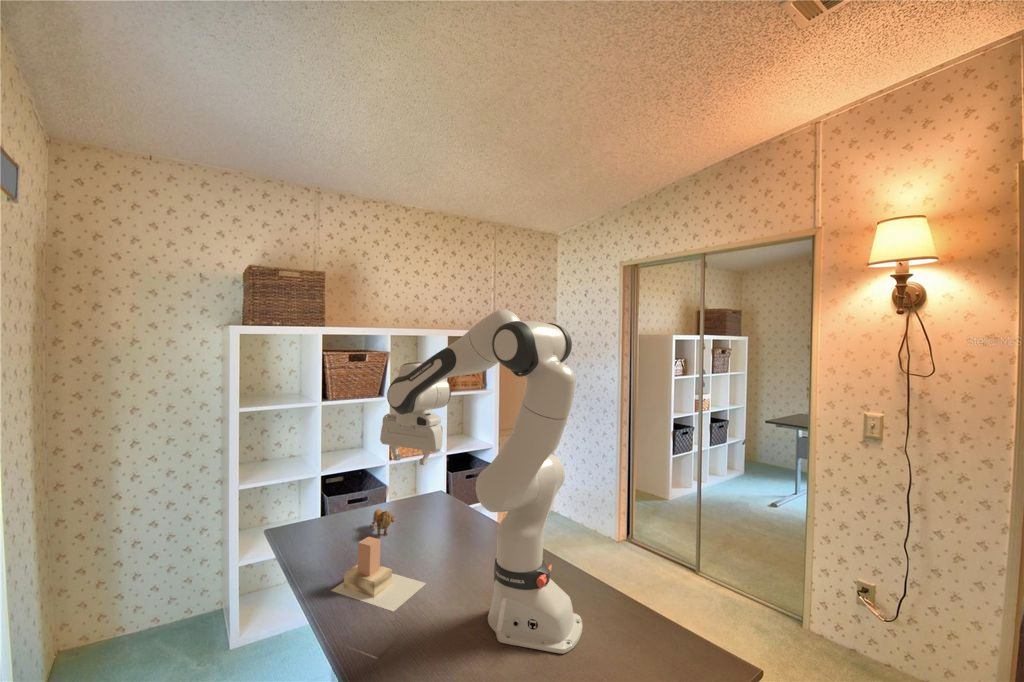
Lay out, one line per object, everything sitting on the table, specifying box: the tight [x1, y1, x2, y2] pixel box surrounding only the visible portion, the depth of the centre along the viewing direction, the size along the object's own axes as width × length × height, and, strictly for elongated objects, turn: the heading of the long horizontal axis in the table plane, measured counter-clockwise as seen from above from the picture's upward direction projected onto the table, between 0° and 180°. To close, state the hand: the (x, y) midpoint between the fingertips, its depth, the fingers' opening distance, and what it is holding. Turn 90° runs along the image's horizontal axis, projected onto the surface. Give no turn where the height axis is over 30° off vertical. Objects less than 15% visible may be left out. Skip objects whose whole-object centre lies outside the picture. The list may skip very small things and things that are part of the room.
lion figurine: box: [371, 508, 397, 539], centre depth 154 cm, size 15×5×9 cm, turn 39°
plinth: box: [343, 563, 393, 597], centre depth 121 cm, size 10×7×4 cm
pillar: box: [357, 536, 381, 576], centre depth 121 cm, size 4×4×8 cm
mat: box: [330, 572, 427, 612], centre depth 121 cm, size 20×14×1 cm
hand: (409, 462), depth 137 cm, fingers open, 8 cm apart
